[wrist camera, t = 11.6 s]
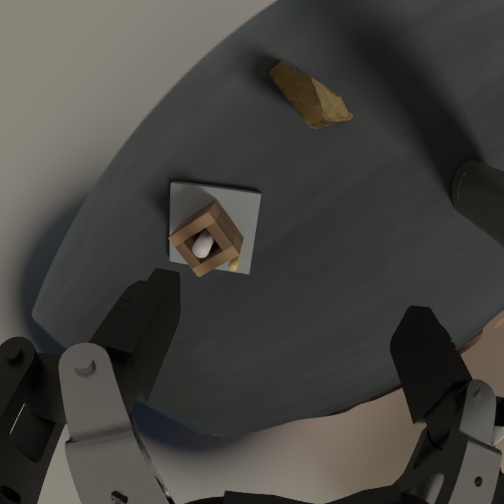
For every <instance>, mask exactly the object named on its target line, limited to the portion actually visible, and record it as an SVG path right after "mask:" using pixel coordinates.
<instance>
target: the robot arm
mask: <svg viewBox="0 0 504 504" xmlns="http://www.w3.org/2000/svg"><path fill="white" fill-rule="evenodd" d="M451 196H452V201H453V205H454V207H455V209H456V210H457V211H458V212H459V213H460V214H461V215H463V216H464V217H466V218H467V219H468V220H470V221H471V222H472V223H473V224H475V225H476V226H477V227H479V228H480V229H481V230H483V231H484V232H485V233H487V234H488V235H489V236H490V237H492V238H493V239H494V240H495V241H497V242H498V243H499V244H500V245H502V246H503V247H504V171H501V170H499V169H497V168H494V167H492V166H489V165H487V164H484V163H482V162H479V161H475V160H469V161H467V162H465V163H463V164H462V165H461V166H460V167H459V168H458V170H457V171H456V173H455V175H454V178H453V181H452V186H451ZM180 310H181V306H180V275H179V272H176V271H170V270H165V269H159V268H156V269H155V270H154V271H153V273H152V274H151V275H150V277H149V278H148V280H147V281H141V280H139V281H137V282H135V283H134V284H132V285H131V286H129V287H127V288H126V290H125V291H124V292H123V294H122V295H121V297H120V298H119V300H118V301H117V302H116V303H115V305H114V306H113V309H111V310H110V312H109V313H108V315H107V316H106V317H105V319H104V320H103V322H102V323H101V325H100V326H99V328H98V329H97V330H96V332H95V333H94V335H93V336H92V338H91V339H90V341H89V342H88V343H80V344H76V345H74V346H72V347H70V348H69V349H67V350H66V351H65V352H64V353H63V355H57V354H46V353H37V352H36V350H35V348H34V346H33V344H32V343H31V341H29V340H28V339H26V338H24V337H13V338H10V339H8V340H6V341H5V342H4V343H2V344H1V346H0V504H37V502H38V499H39V495H40V492H41V489H42V485H43V482H44V479H45V476H46V473H47V470H48V467H49V464H50V462H51V459H52V456H53V453H54V451H55V448H56V446H57V443H58V440H59V438H60V435H61V433H62V430H63V428H64V426H65V424H67V425H68V429H69V434H70V439H69V440H68V441H66V443H65V452H66V457H67V461H68V464H69V468H70V471H71V475H72V477H73V481H74V484H75V487H76V489H77V492H78V495H79V498H80V500H81V503H82V504H176V503H175V502H174V500H173V498H172V497H171V495H170V493H169V491H168V489H167V488H166V486H165V484H164V482H163V480H162V479H161V477H160V475H159V473H158V471H157V470H156V468H155V466H154V464H153V462H152V460H151V458H150V456H149V454H148V451H147V449H146V447H145V445H144V443H143V440H142V438H141V436H140V433H139V431H138V429H137V426H136V424H135V421H134V418H133V416H132V414H131V410H132V408H133V405H134V403H135V401H139V402H142V403H145V404H147V401H148V399H149V396H150V393H151V391H152V388H153V386H154V383H155V380H156V378H157V375H158V373H159V370H160V368H161V365H162V363H163V360H164V358H165V355H166V353H167V350H168V348H169V346H170V343H171V341H172V338H173V336H174V334H175V331H176V329H177V326H178V323H179V319H180ZM390 352H391V355H392V358H393V361H394V364H395V367H396V370H397V373H398V376H399V379H400V382H401V385H402V388H403V391H404V394H405V397H406V400H407V404H408V407H409V411H410V414H411V418H412V421H413V424H420V423H426V424H427V427H425V428H424V429H423V431H422V433H421V435H420V438H419V440H418V442H417V445H416V447H415V450H414V452H413V454H412V456H411V458H410V461H409V463H408V465H407V467H406V469H405V471H404V473H403V474H402V475H401V476H400V478H399V479H398V480H396V482H394V484H393V485H390V486H385V487H380V488H374V489H368V490H363V491H360V492H358V493H355V494H352V495H350V496H347V497H344V498H341V499H338V500H336V501H332V502H329V503H326V504H504V474H503V473H502V471H501V468H500V465H501V459H502V453H501V451H500V450H499V449H497V448H495V444H497V443H498V442H499V441H500V440H502V439H503V438H504V398H503V397H498V396H495V394H494V392H493V390H492V389H491V387H490V386H489V385H488V384H487V383H485V382H484V381H482V380H477V379H475V380H473V379H472V377H471V375H470V373H469V371H468V369H467V367H466V365H465V363H464V361H463V360H462V357H461V355H460V354H459V352H458V351H457V348H456V346H455V344H454V343H452V339H451V337H450V336H449V334H448V332H447V330H446V329H445V328H444V327H443V326H442V325H441V324H440V323H439V321H438V320H437V318H436V316H435V315H434V313H433V312H432V310H431V309H430V308H429V307H422V306H410V307H409V308H408V309H407V311H406V312H405V314H404V316H403V318H402V320H401V322H400V324H399V326H398V327H397V329H396V331H395V333H394V334H393V336H392V339H391V342H390ZM23 404H25V405H24V407H23V409H22V411H21V413H20V415H19V417H18V419H17V421H16V424H15V426H14V428H13V430H12V432H11V429H12V427H13V425H14V423H15V420H16V418H17V416H18V414H19V412H20V410H21V408H22V406H23ZM10 432H11V434H10ZM185 504H313V503H307V502H302V501H297V500H293V499H288V498H284V497H280V496H276V495H265V494H252V493H242V492H233V491H225V493H224V496H223V497H211V498H205V499H199V500H196V501H191V502H188V503H185Z"/></svg>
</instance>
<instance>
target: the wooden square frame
mask: <svg viewBox="0 0 504 504" xmlns="http://www.w3.org/2000/svg"><path fill="white" fill-rule="evenodd" d="M204 228H207V230H208V231H209V232H210V234H211V235H212V237H213V238H214V239H215V241H216V243H214V244H212V246H211V249H210V251H209V253H208V255H207V256H206V257H204V258H199V257H197V256H195V255H194V254H193V251H192V247H193V245H194V244H195V242H196V240H197V239H198V237H199V235H200V234H199V233H198V232H199V231H201V230H203V229H204ZM168 239H169V240H170V242H171V243H172V244H173V246H174V247H175V248H176V249H177V251H178V252H179V253H180V255H181V256H182V257H183V258H184V260H185V261H186V262H187V263H188V265H189V266H190V267H191V268H192V270H193V271H194V272H195V273H196V275H197V276H198V277H200V276H202V275H204V274H205V273H207V272H209V271H211V270H213V269H215V268H217V267H218V266H220V265H222V264H224V263H226V262H228V261H229V260H231V259H233V258H235V257H237V256H239V255H240V251H241V248H242V244H243V240H244V237H243V235H242V234H241V233H240V231H239V230H238V228H237V227H236V225H235V224H234V223H233V221H232V220H231V218H230V217H229V215H228V214H227V213H226V211H225V210H224V208H223V207H222V206H221V204H220V203H219V201H218V200H217V199H216V200H215V201H213V202H212V203H210V204H209V205H207V206H205V207H204V208H202V209H201V210H199V211H198V212H196V213H195V214H193V215H192V216H190V217H189V218H187V219H186V220H184V221H183V222H181V223H180V224H179V225H178V227H177V228H176V229H175V230H174V231H173V233H172V234H171V235H170V236H169V238H168Z"/></svg>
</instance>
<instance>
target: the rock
mask: <svg viewBox="0 0 504 504" xmlns="http://www.w3.org/2000/svg"><path fill="white" fill-rule="evenodd" d="M269 76H270V77H271V78H272V79H273V81H274V83H275V84H276V85H277V86H278V88H279V89H280V91H281V92H282V93H283V95H284V96H285V97H286V98H287V99H288V100H289V101H290V102H291V104H292V105H293V106H294V108H295V109H296V111H297V112H298V113H299V114H300V116H301V117H302V118H303V120H304V121H305V122H306V123H307V124H308V125H309V127H310V128H314V129H318V128H322V127H326V126H329V125H335V124H340V123H344V122H347V121H349V120H350V119H351V118H352V113H350V112H349V111H348V110H347V109H346V107H345V105H344V103H343V101H342V98H341V97H340V96H339V95H337V94H335V93H334V92H332V91H331V89H329V88H328V87H326V86H324V85H323V84H322V83H320V82H318V81H317V80H315V79H314V78H313V77H312V76H310V75H304V74H302V73H299V72H297V71H296V70H294V69H293V68H292V67H291V66H290V65H289V64H288V63H287V62H285V61H280V62H279V63H278V64H277V65H276V66H275V67H274V68H273V69H272V70H271V71H270V72H269Z"/></svg>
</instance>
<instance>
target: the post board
mask: <svg viewBox="0 0 504 504" xmlns="http://www.w3.org/2000/svg"><path fill="white" fill-rule="evenodd" d="M216 199H217V200H218V201H219V203H220V204H221V206H222V207H223V208H224V210H225V211H226V213H227V214H228V215H229V217H230V218H231V220H232V221H233V223H234V224H235V225H236V227H237V228H238V230H239V231H240V233H241V234H242V235H243V237H244V240H243V244H242V248H241V251H240V255H239V256H237V257H235V258H233V259H231V260H229V261H228V262H226V263H224V264H222V265H220V266H218V267H217V268H215V269H219V270H225V271H232V272H238V273H244V274H249V272H250V265H251V259H252V252H253V245H254V239H255V232H256V226H257V219H258V212H259V206H260V199H261V192H256V191H249V190H242V189H235V188H228V187H220V186H212V185H204V184H196V183H187V182H177V181H173V182H171V192H170V235H171V234H172V233H173V231H174V230H175V229H176V228H177V227H178V225H179V224H180V223H181V222H183V221H184V220H186V219H187V218H189V217H190V216H192V215H193V214H195V213H196V212H198V211H199V210H201V209H202V208H204V207H205V206H207V205H209V204H210V203H212V202H213V201H215V200H216ZM198 233H199V234H200V235H199V237H198V239H197V240H196V242H195V244H194V245H193V247H192V251H193V254H194V255H195V256H197V257H199V258H204V257H206V256H207V255H208V253H209V251H210V249H211V246H212V244H214V243H216V241H215V239H214V238H213V237H212V235H211V234H210V232H209V231H208V230H207V228H204V229H203V230H201V231H199V232H198ZM170 261H172V262H177V263H183V264H188V263H187V262H186V261H185V260H184V258H183V257H182V256H181V255H180V253H179V252H178V251H177V249H176V248H175V247H174V246H173V244H172V243H171V242H170Z"/></svg>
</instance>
